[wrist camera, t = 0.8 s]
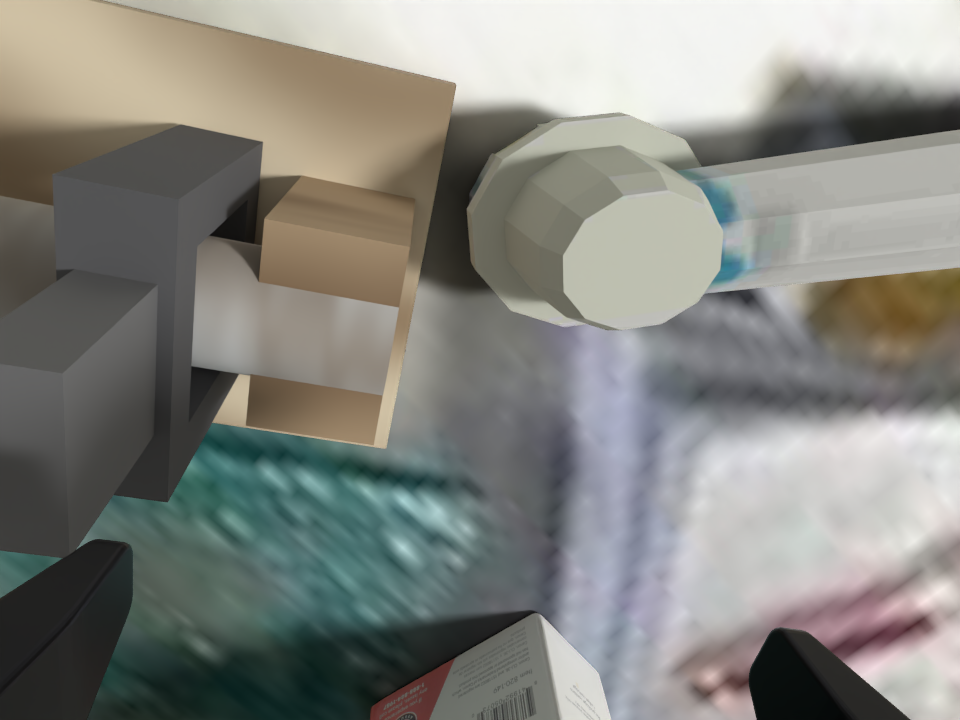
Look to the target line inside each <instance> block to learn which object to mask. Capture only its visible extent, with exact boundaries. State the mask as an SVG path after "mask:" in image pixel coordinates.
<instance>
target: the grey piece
mask: <svg viewBox="0 0 960 720" xmlns="http://www.w3.org/2000/svg"><path fill="white" fill-rule="evenodd" d="M469 202H470V204H469V206H468V207H467V220H468V232H469V244H470V256H471V263H472V265H473V267H474V268H475V270H476V271H477V272H478V274H479V275H480V276H481V277H482V278H483V279H484V280H485V282H486V283H487V284H488V285H489V286H490V287H491V288H492V289H493V291H494V292H495V293H496V294H497V295H498V296H499V297H500V299H501V300H502V301H503V302H504V303H505V304H506V305H507V307H508V308H509V309H510V310H511V311H514V312H517V313H520V314H523V315H527V316H530V317H533V318H536V319H540V320H543V321H546V322H550V323H553V324H556V325H559V326H563V327H571V326H578V325H584V324H589V325H592V326H595V327H599V328H602V329H605V330H625V329H632V328H639V327H645V326H652V325H658V324H663V323H664V322H666V321H668V320H669V319H671V318H673V317H674V316H676V315H677V314H679V313H681V312H682V311H684V310H686V309H687V308H689V307H691V306H692V305H694V304H696V303H697V302H698V301H699V300H700V298H701V297H702V295H703V294H704V293H713V292H723V291H733V290H742V289H752V288H762V287H772V286H782V285H792V284H801V283H811V282H821V281H831V280H841V279H851V278H860V277H870V276H880V275H890V274H900V273H909V272H919V271H929V270H939V269H949V268H959V267H960V130H953V131H946V132H940V133H933V134H926V135H919V136H912V137H905V138H898V139H892V140H885V141H878V142H871V143H864V144H857V145H850V146H844V147H837V148H830V149H823V150H816V151H809V152H802V153H796V154H789V155H782V156H775V157H768V158H761V159H754V160H748V161H741V162H734V163H727V164H720V165H713V166H706V167H702V166H701V165H700V163H699V161H698V160H697V158H696V156H695V155H694V153H693V152H692V150H691V148H690V147H689V145H688V143H687V142H686V140H685V139H683V138H680V137H678V136H676V135H674V134H671V133H669V132H667V131H664V130H662V129H660V128H657V127H655V126H653V125H650V124H648V123H646V122H644V121H641V120H639V119H637V118H634V117H632V116H630V115H626V114H623V113H610V114H600V115H590V116H581V117H571V118H562V119H553V120H551V121H550V122H548V123H544V124H536V128H535V129H534V130H532V131H530V132H529V133H527V134H526V135H524V136H523V137H521V138H520V139H518V140H516V141H515V142H513V143H512V144H510V145H509V146H507V147H505V148H504V149H502V150H501V151H499V152H498V153H496V154H494V153H491V155H490V157H489V159H488V161H487V162H486V164H485V166H484V168H483V170H482V171H481V173H480V175H479V177H478V179H477V181H476V182H475V184H474V186H473V188H472V190H471V191H470V193H469Z"/></svg>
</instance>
